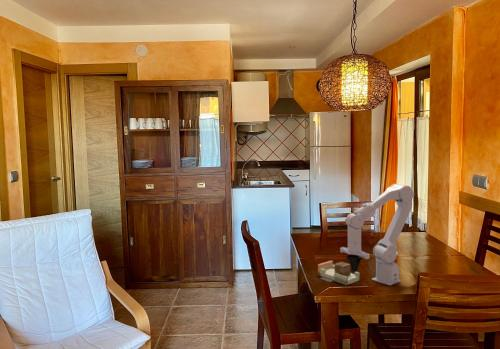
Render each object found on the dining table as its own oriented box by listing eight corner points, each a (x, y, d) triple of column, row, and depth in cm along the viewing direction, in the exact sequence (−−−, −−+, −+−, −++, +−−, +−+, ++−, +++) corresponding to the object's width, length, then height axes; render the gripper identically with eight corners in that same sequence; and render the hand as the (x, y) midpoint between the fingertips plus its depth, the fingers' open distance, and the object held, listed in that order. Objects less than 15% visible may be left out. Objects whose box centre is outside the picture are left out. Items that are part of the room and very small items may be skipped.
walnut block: (350, 275, 177) (350, 264, 176) (343, 277, 174) (343, 266, 174) (341, 272, 181) (341, 261, 181) (334, 274, 178) (334, 264, 178)
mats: (360, 277, 179) (360, 276, 179) (338, 285, 170) (338, 284, 170) (341, 271, 188) (341, 271, 188) (319, 278, 179) (319, 278, 179)
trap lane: (359, 280, 175) (359, 269, 175) (346, 285, 170) (346, 273, 170) (331, 270, 189) (331, 260, 189) (318, 275, 184) (317, 264, 183)
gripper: (335, 239, 174) (335, 269, 175) (362, 246, 162) (362, 277, 163) (346, 236, 178) (346, 265, 179) (372, 243, 166) (372, 273, 167)
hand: (354, 271), depth 171 cm, fingers closed
